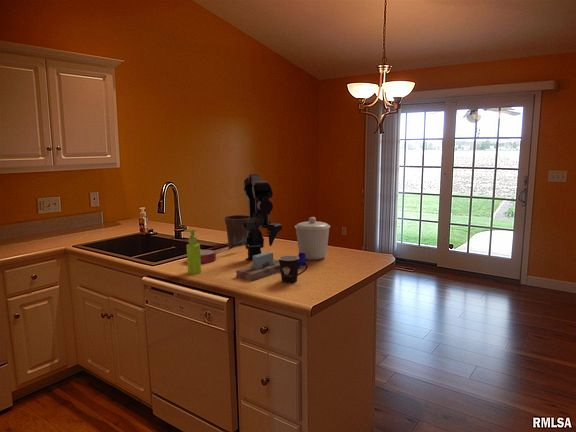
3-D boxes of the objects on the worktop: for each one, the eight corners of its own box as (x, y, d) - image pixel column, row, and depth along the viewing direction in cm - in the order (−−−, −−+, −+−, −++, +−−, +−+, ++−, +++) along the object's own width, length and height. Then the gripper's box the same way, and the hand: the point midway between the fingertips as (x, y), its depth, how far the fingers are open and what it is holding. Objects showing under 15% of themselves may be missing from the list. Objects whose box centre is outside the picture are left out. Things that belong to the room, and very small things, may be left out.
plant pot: (258, 243, 259) (257, 216, 256) (236, 248, 248) (235, 220, 245) (241, 239, 271) (240, 214, 268) (219, 243, 260) (218, 217, 257)
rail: (236, 276, 191) (236, 270, 191) (272, 265, 209) (272, 259, 209) (252, 280, 185) (252, 274, 184) (288, 268, 203) (288, 262, 203)
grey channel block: (253, 274, 194) (252, 256, 193) (268, 269, 202) (267, 251, 201) (258, 275, 192) (258, 257, 191) (273, 270, 200) (273, 252, 198)
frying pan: (231, 249, 244) (231, 238, 243) (248, 252, 236) (247, 241, 235) (184, 261, 220) (184, 249, 219) (200, 265, 212) (200, 252, 211)
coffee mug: (275, 281, 184) (274, 258, 182) (289, 276, 190) (289, 254, 188) (294, 286, 176) (294, 262, 174) (309, 282, 182) (308, 258, 180)
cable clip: (293, 271, 198) (293, 258, 197) (285, 270, 201) (285, 257, 200) (308, 265, 208) (308, 253, 207) (300, 264, 211) (300, 252, 210)
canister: (325, 263, 211) (325, 220, 208) (290, 260, 217) (289, 219, 214) (334, 254, 228) (334, 214, 225) (301, 252, 234) (300, 213, 231)
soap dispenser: (184, 271, 200) (182, 229, 197) (199, 270, 203) (197, 228, 200) (186, 275, 195) (184, 231, 192) (202, 273, 197) (199, 230, 194)
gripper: (234, 210, 193) (235, 245, 196) (265, 214, 182) (266, 250, 184) (251, 207, 202) (252, 240, 204) (282, 211, 190) (283, 245, 192)
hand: (262, 244), depth 196 cm, fingers open, 9 cm apart
